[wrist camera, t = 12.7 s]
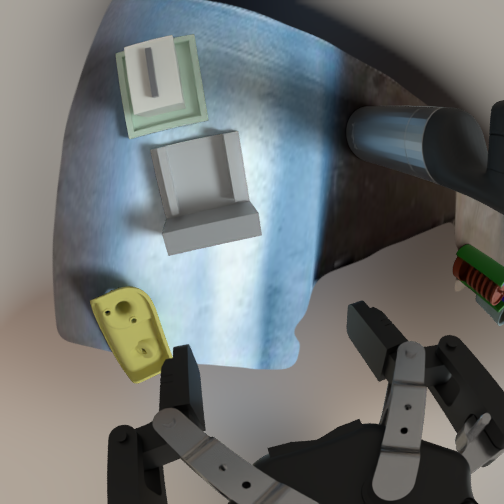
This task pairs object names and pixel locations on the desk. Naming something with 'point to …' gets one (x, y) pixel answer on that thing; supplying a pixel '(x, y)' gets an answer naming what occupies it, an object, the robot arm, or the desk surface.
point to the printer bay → (204, 193)
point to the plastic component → (132, 331)
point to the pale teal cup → (491, 311)
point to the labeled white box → (154, 77)
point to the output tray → (190, 90)
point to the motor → (481, 275)
